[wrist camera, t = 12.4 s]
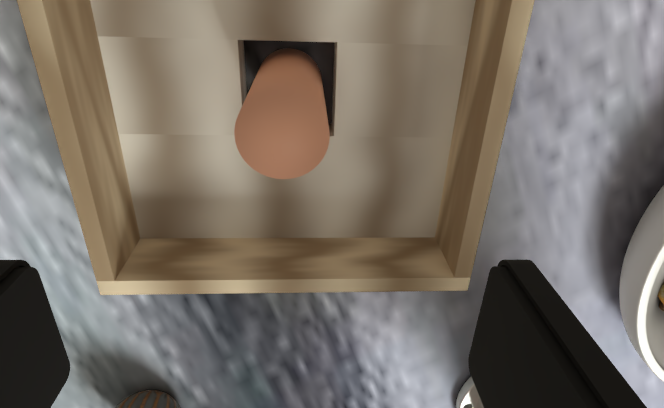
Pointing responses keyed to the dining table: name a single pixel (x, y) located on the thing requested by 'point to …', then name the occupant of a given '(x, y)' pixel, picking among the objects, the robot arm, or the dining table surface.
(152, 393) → the vase
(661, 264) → the bowl
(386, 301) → the dining table surface
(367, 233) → the insert box
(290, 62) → the peg
